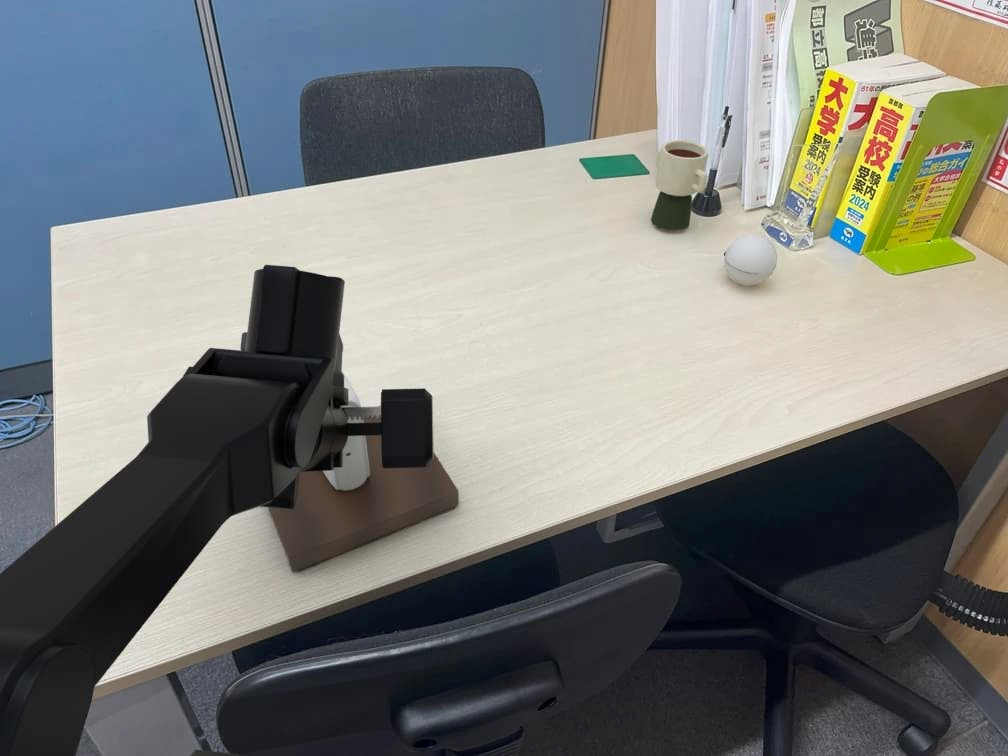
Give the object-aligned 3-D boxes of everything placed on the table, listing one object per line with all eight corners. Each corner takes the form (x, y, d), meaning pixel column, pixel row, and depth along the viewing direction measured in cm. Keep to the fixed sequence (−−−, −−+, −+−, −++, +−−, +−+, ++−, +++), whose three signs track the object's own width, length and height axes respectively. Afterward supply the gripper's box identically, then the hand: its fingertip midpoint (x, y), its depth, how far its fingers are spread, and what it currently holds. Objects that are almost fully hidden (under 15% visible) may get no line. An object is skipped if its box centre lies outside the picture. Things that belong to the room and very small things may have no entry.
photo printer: (377, 481, 71) (365, 389, 63) (336, 499, 69) (319, 406, 61) (335, 419, 77) (319, 328, 69) (297, 434, 75) (276, 342, 67)
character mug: (708, 234, 115) (727, 158, 106) (674, 245, 112) (691, 167, 104) (664, 206, 122) (679, 132, 113) (631, 215, 119) (644, 140, 110)
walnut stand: (292, 574, 65) (288, 558, 64) (251, 465, 75) (246, 449, 73) (459, 506, 72) (458, 490, 70) (401, 414, 81) (399, 398, 80)
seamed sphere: (749, 264, 109) (762, 221, 104) (779, 290, 103) (795, 246, 99) (693, 275, 106) (704, 231, 101) (722, 302, 100) (734, 258, 96)
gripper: (427, 312, 50) (433, 340, 65) (153, 315, 49) (226, 343, 64) (430, 471, 49) (436, 461, 65) (151, 480, 48) (225, 467, 63)
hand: (331, 430), depth 64 cm, fingers open, 9 cm apart
